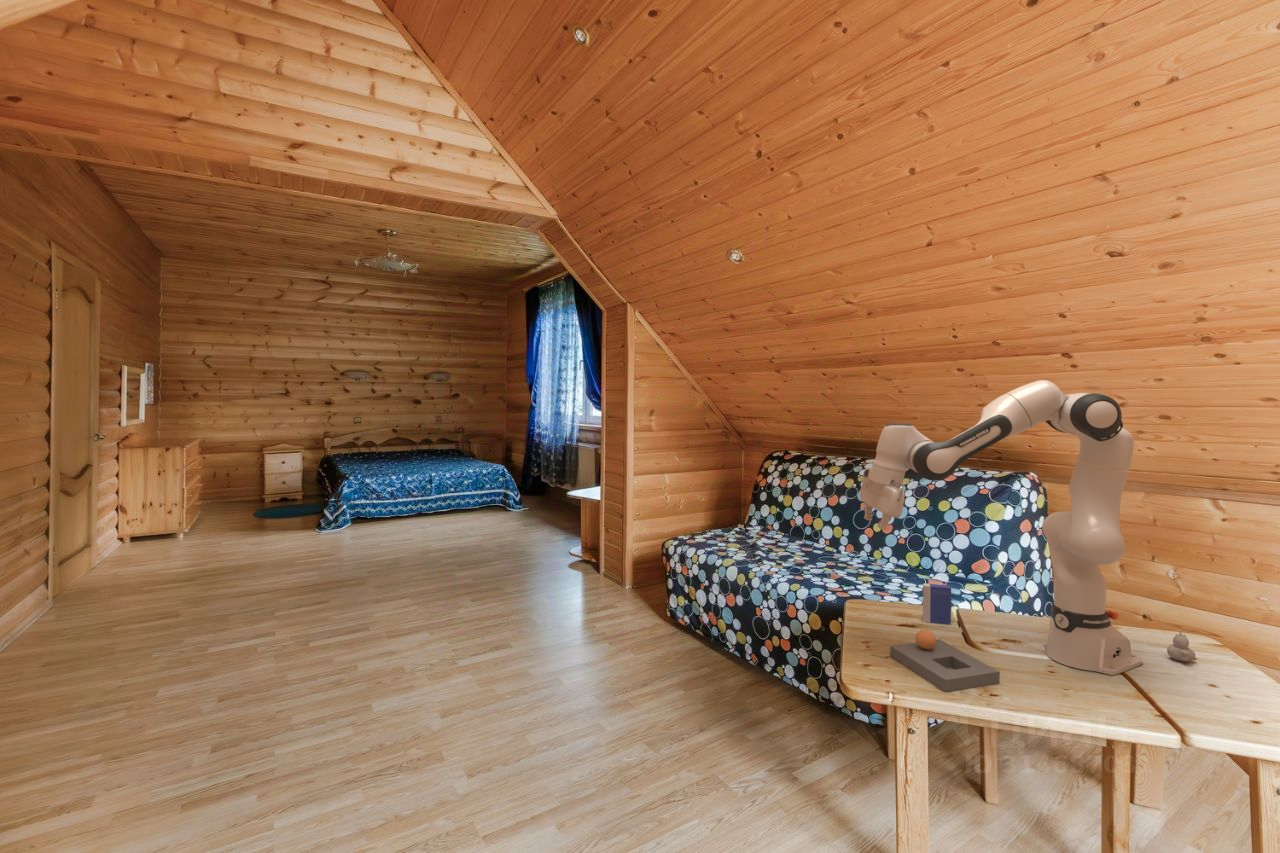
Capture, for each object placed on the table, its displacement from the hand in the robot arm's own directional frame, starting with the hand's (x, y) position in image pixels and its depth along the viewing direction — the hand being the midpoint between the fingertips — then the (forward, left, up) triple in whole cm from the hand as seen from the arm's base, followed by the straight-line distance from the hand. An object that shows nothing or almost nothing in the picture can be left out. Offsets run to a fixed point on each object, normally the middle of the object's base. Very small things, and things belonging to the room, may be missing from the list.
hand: (874, 524), depth 165 cm
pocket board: (-7, +19, -35) cm, 40 cm away
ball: (-7, +13, -29) cm, 33 cm away
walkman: (-29, -8, -35) cm, 46 cm away
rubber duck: (-71, +32, -35) cm, 85 cm away
